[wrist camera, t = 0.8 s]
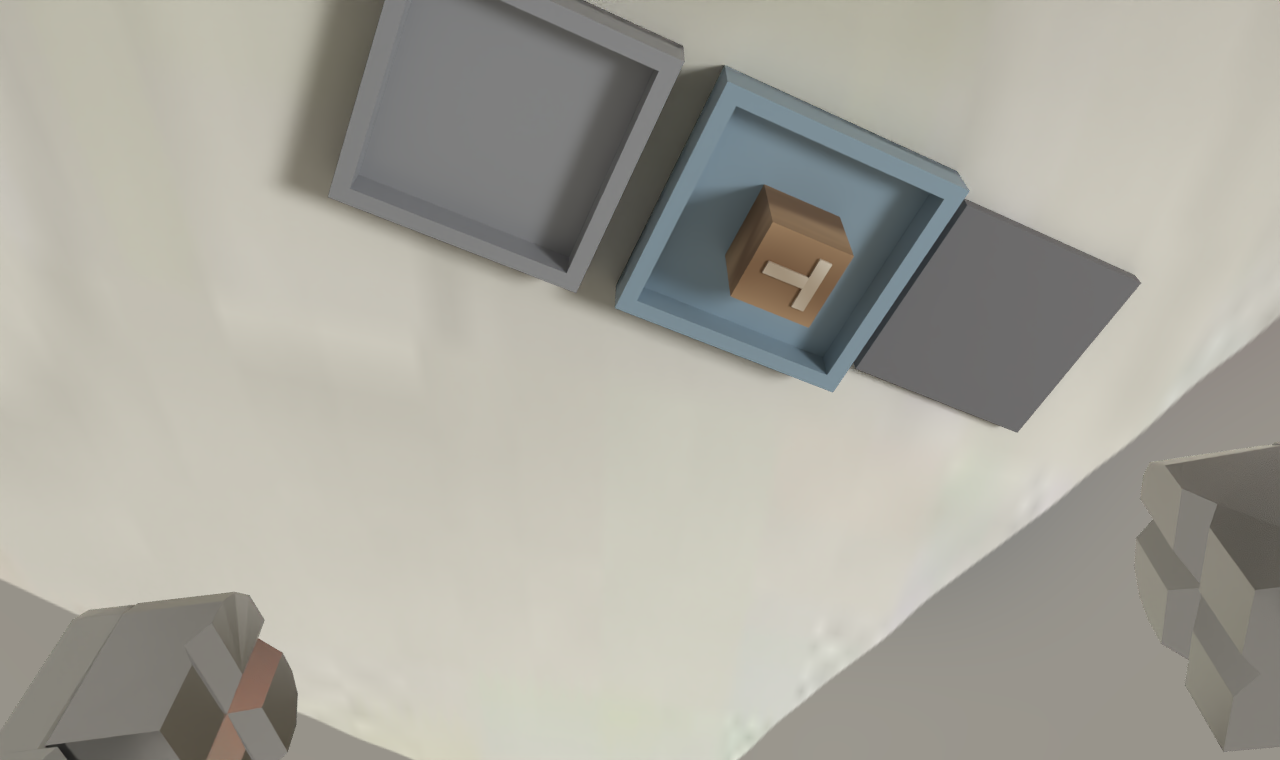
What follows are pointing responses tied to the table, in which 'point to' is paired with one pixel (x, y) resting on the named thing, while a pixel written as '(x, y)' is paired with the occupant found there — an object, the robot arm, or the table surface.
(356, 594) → the table surface
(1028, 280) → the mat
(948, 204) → the slate tray
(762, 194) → the letter cube
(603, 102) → the charcoal tray
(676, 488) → the table surface
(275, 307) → the table surface
